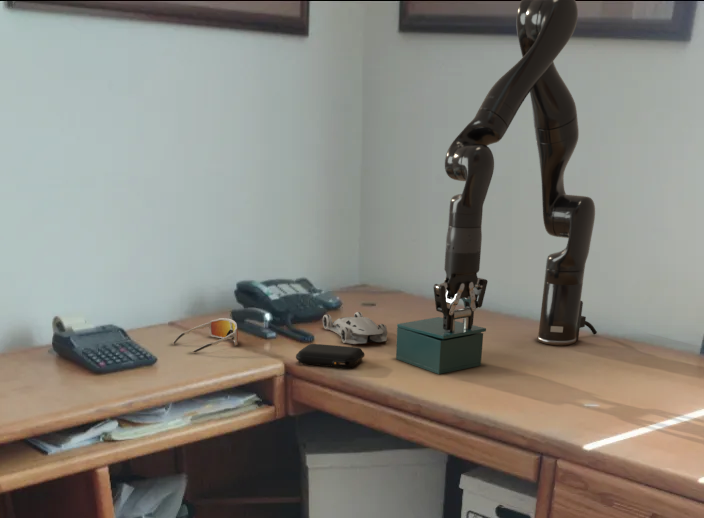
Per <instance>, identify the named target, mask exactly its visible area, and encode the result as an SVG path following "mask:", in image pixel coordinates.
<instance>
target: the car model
mask: <svg viewBox="0 0 704 518" xmlns="http://www.w3.org/2000/svg"><path fill="white" fill-rule="evenodd" d="M332 318H333V317H332V316H331V315H330V314H324V315H323V317H322V325H323V329H325V330H327V331H331V332H334V333H335V334H337V335H338V336H340V339H341V342H342V343H344V344H350V345H366V344H367V343H374V344H375V343H376V344H381V343H386V342H387V341H388V338H387V337H388V328H387V326H386V324H384V323H380V324H376V322H375V321H374V320H373V319H371V318H370V317H367V316H364V315H363V313H362V312H361V311H356V312H354V314H353V316H343V317H339V318H337V319H336V320H334V321H333V319H332Z"/></svg>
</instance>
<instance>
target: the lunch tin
mask: <svg viewBox="0 0 704 518" xmlns="http://www.w3.org/2000/svg"><path fill="white" fill-rule="evenodd" d="M483 342H484V332H480V333H474V334H469V335H464V336H458V337H453V338H449V339H444V340H440V339H437V337H433V336H429V335H426V334H422V333H418V332H414V331H410V330H407V329H403V328H399V327H397V326H396V348H395V349H396V353H395V359H396V360H397V361H401V362H404V363H406V364H409V365H412V366H415V367H418V368H420V369H423V370H426V371H429V372H431V373H434V374H437V375H441V374H447V373H452V372H456V371H461V370H467V369H470V368H476V367H481V365H482V355H483V344H484V343H483Z"/></svg>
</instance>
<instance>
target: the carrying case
mask: <svg viewBox="0 0 704 518" xmlns="http://www.w3.org/2000/svg"><path fill="white" fill-rule="evenodd" d="M365 355H366V354H365V352H364V350H362V349H361V347H356V346H355V347H354V346H344V345H343V346H342V345H333V344H323V343H321V344H320V343H310V344H307V345H306V346H305V347H303V348H301V349H300V350H299V351H298V352H297V353H296V354H295V359H296V360H297V361H298V363H300V364H303V365H311V366H312V365H313V366H324V367H333V368H344V369H345V368H346V369H349V368H353V367H355V366H356V365H357V364H359V362H361V361H362V359H363V358H365Z"/></svg>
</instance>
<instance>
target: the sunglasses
mask: <svg viewBox="0 0 704 518" xmlns="http://www.w3.org/2000/svg"><path fill="white" fill-rule="evenodd" d="M206 328H208V330H209V335H210V337H212V338H217V339H218V340H215V341H212V342H208V343H206V344H204V345H201V346H199V347H197V348H195V349H194V350H192V351H191V353H192V354H195V353H198V352H200V351H202V350H204V349H206V348H208V347H211V346H216V345H219V344H220V343H222V342H224V341H226V340H227V341H228V340H233V342H234V346H238V341H239V332H238V331H239V330H238V324H237V322H236V321H235V320H233V319H231V318H228V317H227V318H226V317H221V318H220V317H219V318H217V319H213V320H209V321H208V322H206V323H203V324H200V325H197V326H195V327H193V328H190V329H187V330H185V331H183V332H181V333H180V334H179V335H178V336H176V338H175V339H174V340H173V341H172V345H175V344H176V343H177V342H178V341H179V340H180V339H181V338H182V337H183V336H185V335H189V334H190V333H192V332H193V331H196V330H203V329H206Z"/></svg>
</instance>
